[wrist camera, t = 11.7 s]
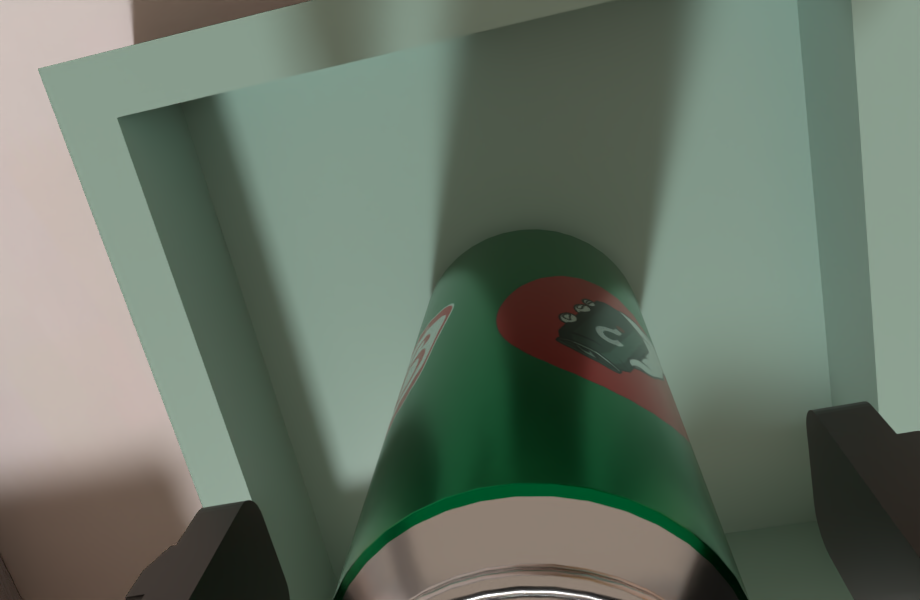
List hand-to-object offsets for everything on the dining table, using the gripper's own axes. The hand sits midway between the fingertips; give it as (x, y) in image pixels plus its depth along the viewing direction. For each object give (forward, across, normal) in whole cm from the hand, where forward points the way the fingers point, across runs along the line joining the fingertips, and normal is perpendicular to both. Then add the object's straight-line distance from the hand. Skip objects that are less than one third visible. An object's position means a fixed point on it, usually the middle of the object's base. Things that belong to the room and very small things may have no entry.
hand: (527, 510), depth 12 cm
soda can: (+8, 0, 0) cm, 9 cm away
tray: (+9, 0, 0) cm, 9 cm away
